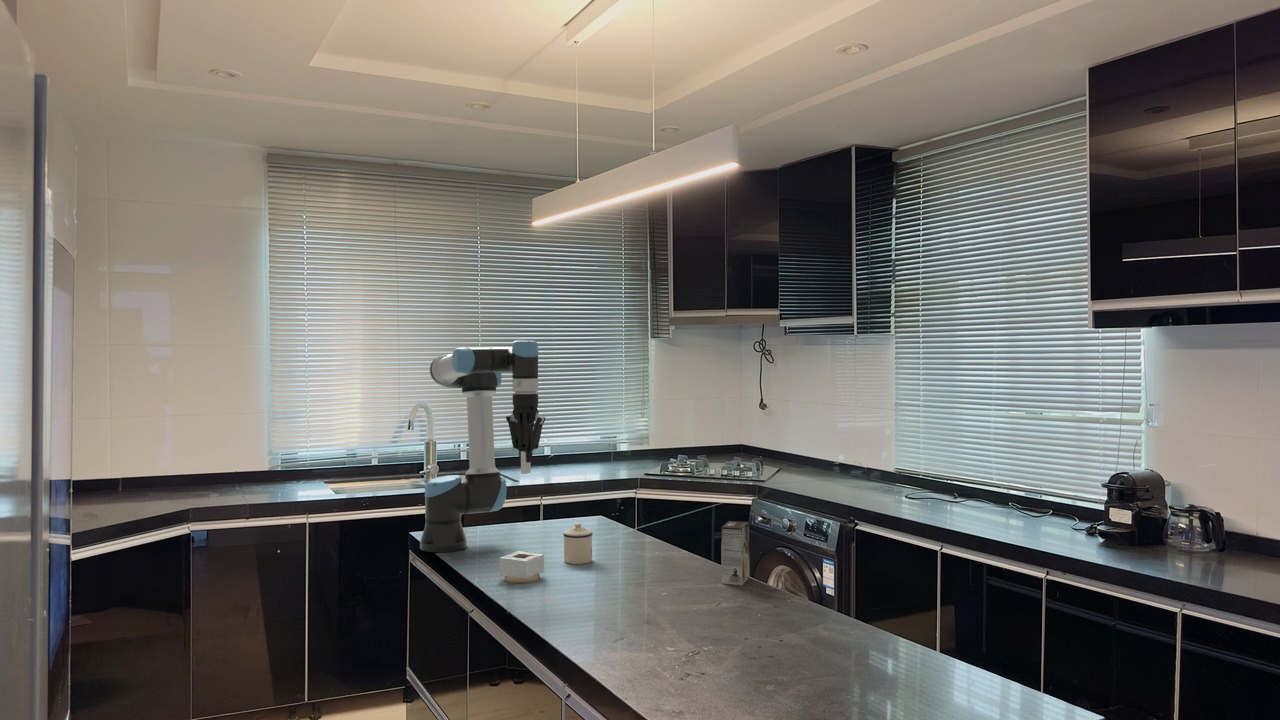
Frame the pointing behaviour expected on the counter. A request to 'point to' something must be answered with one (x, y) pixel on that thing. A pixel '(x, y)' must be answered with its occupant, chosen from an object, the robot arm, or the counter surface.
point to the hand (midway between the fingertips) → (525, 473)
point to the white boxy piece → (521, 564)
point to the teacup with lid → (577, 545)
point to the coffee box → (735, 552)
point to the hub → (520, 580)
